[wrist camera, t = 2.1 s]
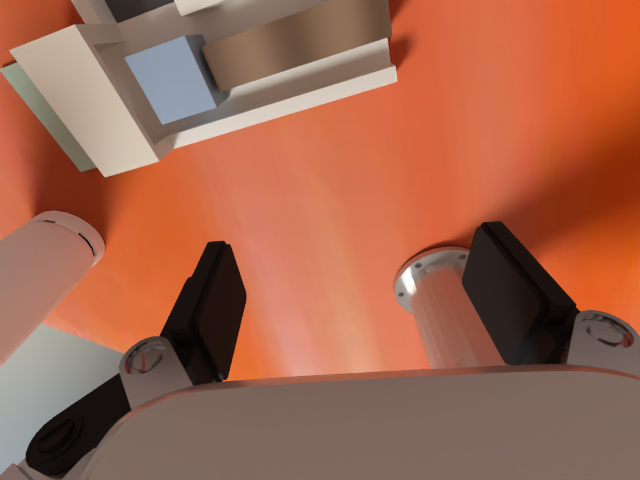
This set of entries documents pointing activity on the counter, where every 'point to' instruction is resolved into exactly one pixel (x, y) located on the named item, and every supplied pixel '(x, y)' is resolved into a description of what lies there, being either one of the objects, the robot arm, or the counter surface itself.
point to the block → (177, 78)
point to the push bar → (297, 40)
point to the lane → (131, 102)
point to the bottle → (41, 272)
